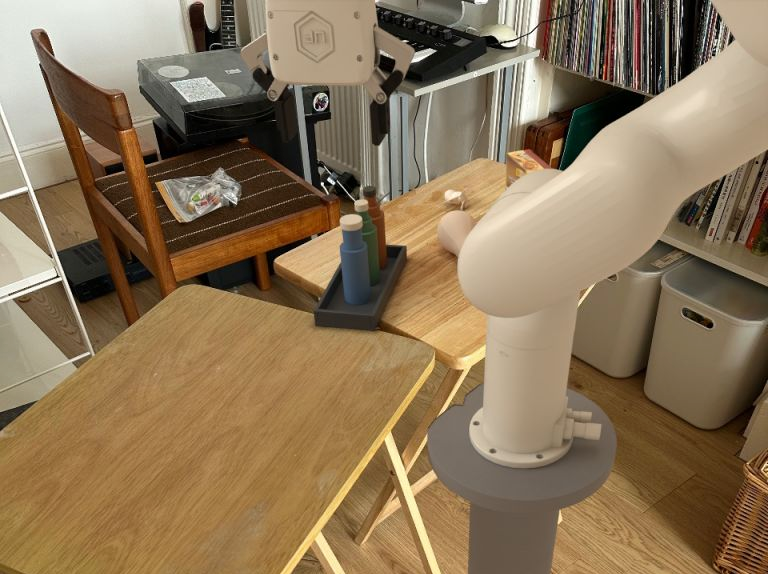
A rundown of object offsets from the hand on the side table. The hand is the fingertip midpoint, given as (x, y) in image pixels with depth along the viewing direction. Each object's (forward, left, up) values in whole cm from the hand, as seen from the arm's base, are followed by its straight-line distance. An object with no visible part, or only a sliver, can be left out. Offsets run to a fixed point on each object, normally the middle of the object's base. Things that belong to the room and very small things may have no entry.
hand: (334, 139), depth 82 cm
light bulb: (-7, -38, -32) cm, 50 cm away
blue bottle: (+6, -22, -32) cm, 39 cm away
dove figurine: (-3, -56, -32) cm, 65 cm away
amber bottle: (+6, -32, -32) cm, 46 cm away
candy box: (-17, -39, -32) cm, 54 cm away
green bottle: (+6, -27, -32) cm, 42 cm away
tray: (+6, -25, -32) cm, 41 cm away
